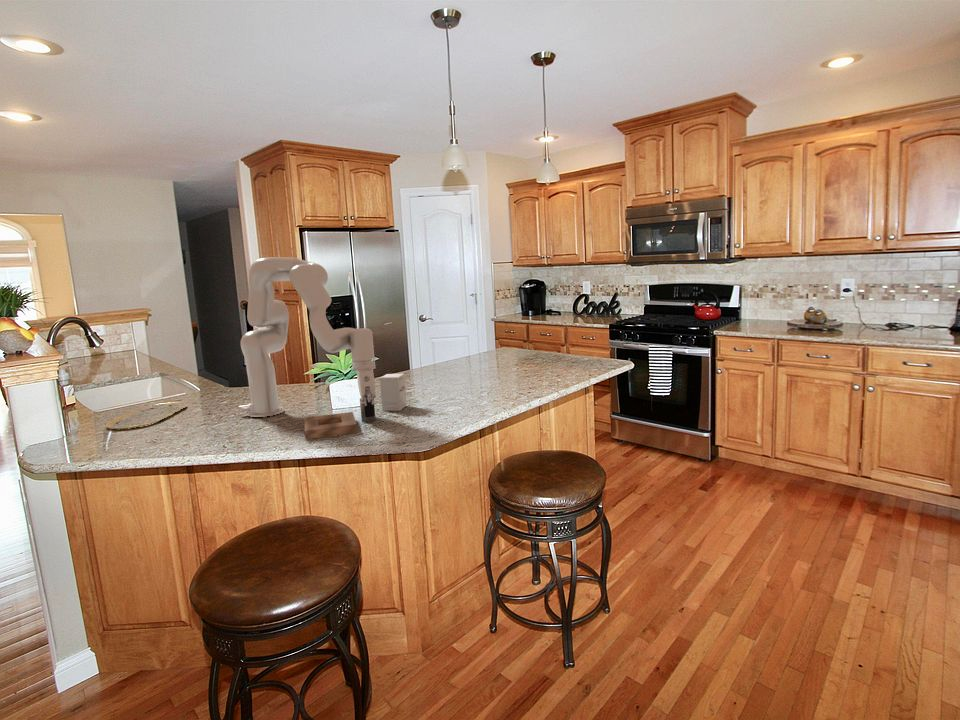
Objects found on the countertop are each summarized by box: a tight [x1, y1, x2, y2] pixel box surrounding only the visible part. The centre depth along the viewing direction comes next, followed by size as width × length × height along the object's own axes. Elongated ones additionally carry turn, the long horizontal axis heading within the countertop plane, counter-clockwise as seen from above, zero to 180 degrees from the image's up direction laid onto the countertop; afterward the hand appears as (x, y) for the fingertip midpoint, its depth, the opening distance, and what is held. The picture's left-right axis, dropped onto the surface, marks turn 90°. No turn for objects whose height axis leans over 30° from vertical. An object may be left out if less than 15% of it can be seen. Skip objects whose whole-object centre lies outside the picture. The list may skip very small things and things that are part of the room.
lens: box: [359, 396, 377, 424], centre depth 184 cm, size 5×5×8 cm
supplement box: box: [379, 373, 407, 412], centre depth 199 cm, size 7×7×13 cm
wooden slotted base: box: [304, 411, 359, 440], centre depth 176 cm, size 16×16×3 cm
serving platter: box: [105, 401, 188, 431], centre depth 205 cm, size 19×35×2 cm, turn 3°
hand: (368, 413), depth 185 cm, fingers open, 9 cm apart
